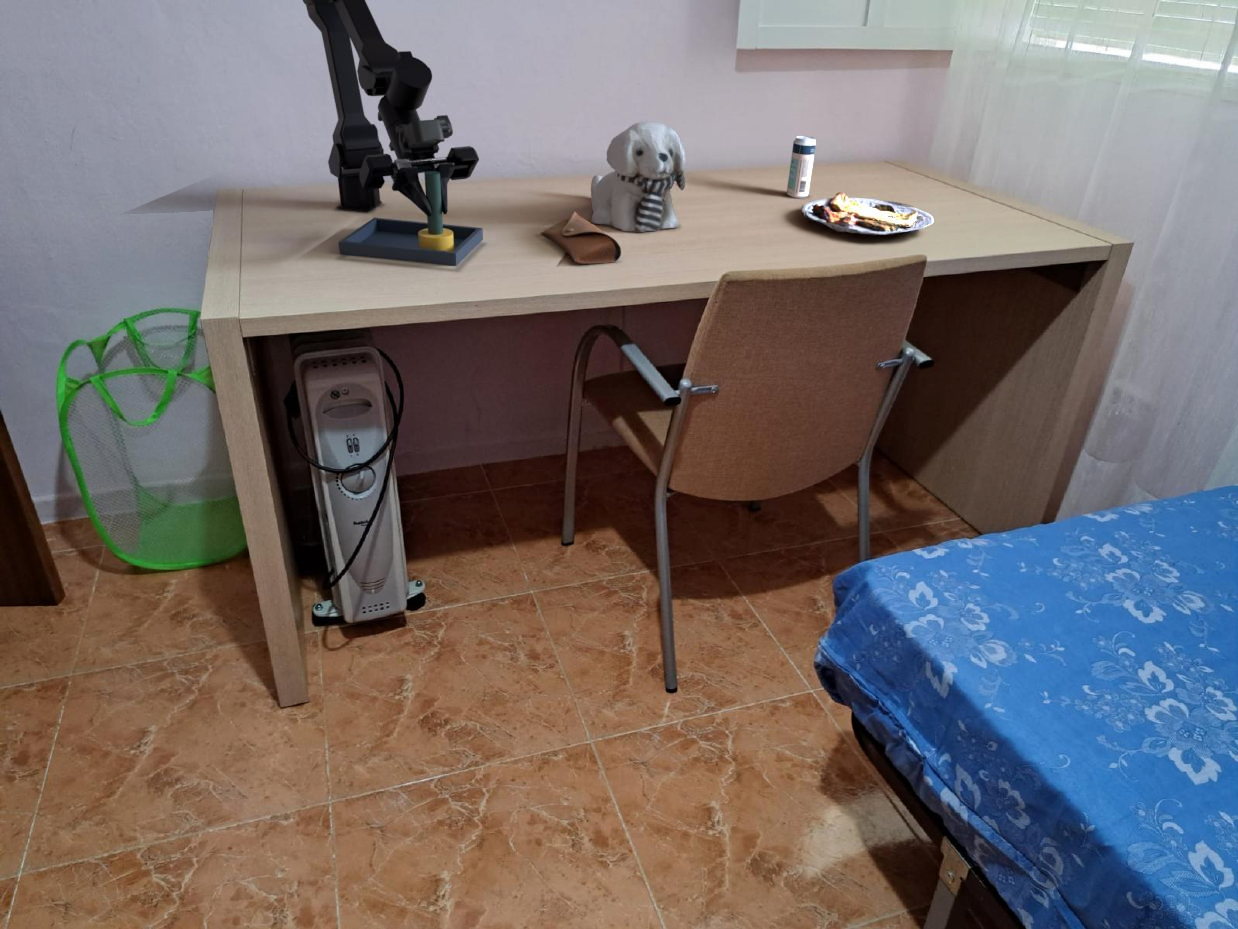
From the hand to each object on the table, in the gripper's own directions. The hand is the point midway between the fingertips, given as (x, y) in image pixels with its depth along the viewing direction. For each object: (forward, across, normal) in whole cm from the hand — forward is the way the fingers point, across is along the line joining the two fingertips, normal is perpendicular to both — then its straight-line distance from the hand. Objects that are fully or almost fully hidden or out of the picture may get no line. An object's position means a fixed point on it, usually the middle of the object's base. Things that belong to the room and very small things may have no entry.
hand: (438, 214), depth 144 cm
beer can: (+2, +86, +9) cm, 86 cm away
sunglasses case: (+9, +24, +2) cm, 25 cm away
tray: (+1, -2, +10) cm, 10 cm away
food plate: (+18, +83, -6) cm, 85 cm away
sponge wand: (+4, 0, +6) cm, 7 cm away
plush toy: (0, +45, +12) cm, 46 cm away
